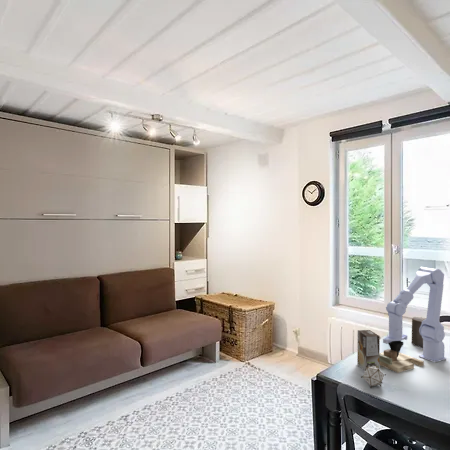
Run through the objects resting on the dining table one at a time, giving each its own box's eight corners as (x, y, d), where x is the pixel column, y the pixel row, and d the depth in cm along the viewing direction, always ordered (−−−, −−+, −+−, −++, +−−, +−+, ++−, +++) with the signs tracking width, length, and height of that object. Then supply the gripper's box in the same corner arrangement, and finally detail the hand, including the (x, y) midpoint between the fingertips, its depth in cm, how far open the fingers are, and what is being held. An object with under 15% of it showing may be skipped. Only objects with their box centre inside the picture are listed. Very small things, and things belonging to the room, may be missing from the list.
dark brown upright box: (410, 344, 189) (410, 317, 189) (412, 340, 197) (413, 313, 197) (431, 349, 184) (431, 320, 184) (432, 343, 192) (433, 316, 192)
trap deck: (393, 354, 176) (393, 345, 176) (423, 365, 161) (423, 355, 161) (367, 360, 167) (367, 350, 167) (397, 372, 153) (397, 362, 153)
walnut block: (389, 357, 165) (389, 349, 165) (396, 360, 162) (397, 351, 162) (383, 358, 164) (383, 350, 164) (391, 362, 160) (391, 353, 160)
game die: (378, 396, 139) (390, 383, 133) (357, 387, 141) (368, 373, 135) (378, 378, 146) (389, 364, 140) (358, 369, 148) (368, 355, 142)
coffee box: (380, 372, 153) (380, 336, 153) (366, 373, 153) (366, 336, 153) (369, 364, 162) (370, 329, 162) (356, 364, 162) (356, 329, 162)
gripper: (398, 323, 171) (397, 351, 171) (377, 327, 165) (377, 356, 165) (411, 327, 165) (411, 356, 165) (390, 331, 158) (390, 361, 158)
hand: (395, 356), depth 164 cm, fingers closed
